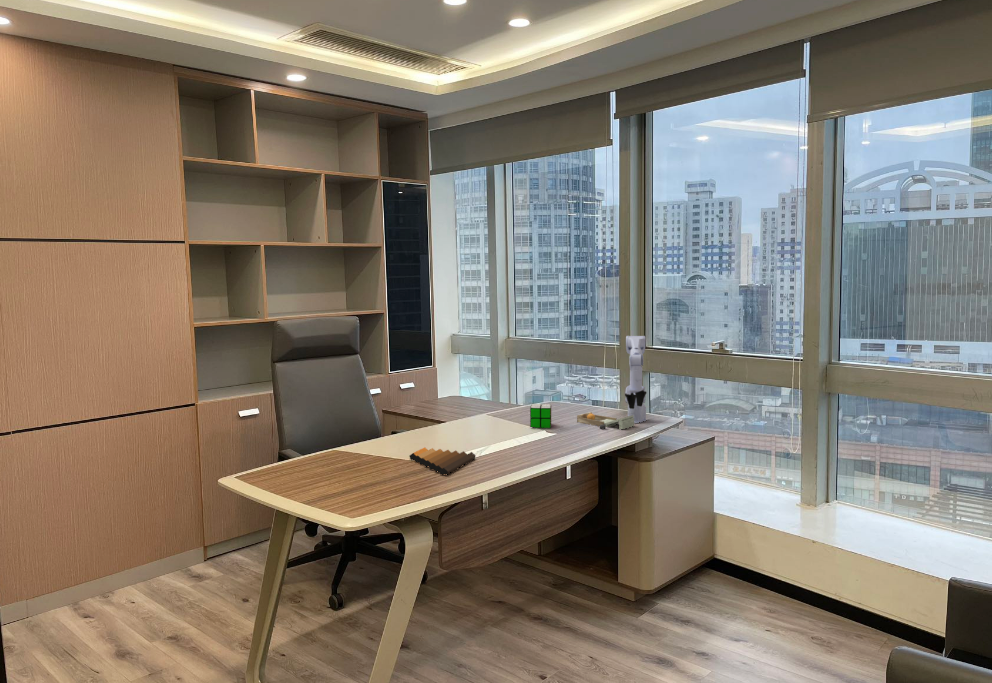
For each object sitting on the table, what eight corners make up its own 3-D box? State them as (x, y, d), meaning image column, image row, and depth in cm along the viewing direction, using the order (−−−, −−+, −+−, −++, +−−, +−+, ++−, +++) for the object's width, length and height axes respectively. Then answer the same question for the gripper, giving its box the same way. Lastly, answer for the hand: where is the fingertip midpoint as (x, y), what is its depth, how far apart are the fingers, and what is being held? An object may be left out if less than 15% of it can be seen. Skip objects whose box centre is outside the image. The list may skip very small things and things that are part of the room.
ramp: (607, 421, 353) (607, 410, 353) (633, 426, 343) (634, 415, 342) (595, 425, 346) (595, 413, 346) (622, 429, 335) (622, 418, 335)
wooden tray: (590, 418, 361) (590, 412, 361) (616, 423, 350) (616, 416, 350) (577, 422, 353) (577, 415, 353) (603, 426, 342) (603, 419, 342)
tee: (601, 427, 340) (601, 424, 340) (606, 428, 338) (606, 425, 338) (598, 428, 338) (598, 425, 338) (603, 429, 336) (603, 426, 336)
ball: (588, 414, 357) (594, 411, 355) (592, 421, 356) (597, 418, 354) (584, 415, 354) (589, 412, 352) (587, 423, 353) (593, 420, 351)
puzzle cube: (551, 424, 350) (551, 404, 349) (550, 428, 340) (550, 408, 339) (531, 423, 351) (531, 404, 350) (530, 428, 341) (530, 407, 340)
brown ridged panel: (448, 477, 261) (475, 460, 284) (447, 468, 261) (475, 452, 284) (389, 470, 271) (421, 454, 294) (389, 461, 271) (421, 446, 294)
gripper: (636, 376, 346) (635, 404, 347) (620, 380, 335) (620, 408, 336) (649, 378, 342) (648, 405, 343) (634, 381, 331) (633, 410, 332)
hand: (635, 407), depth 339 cm, fingers open, 7 cm apart
